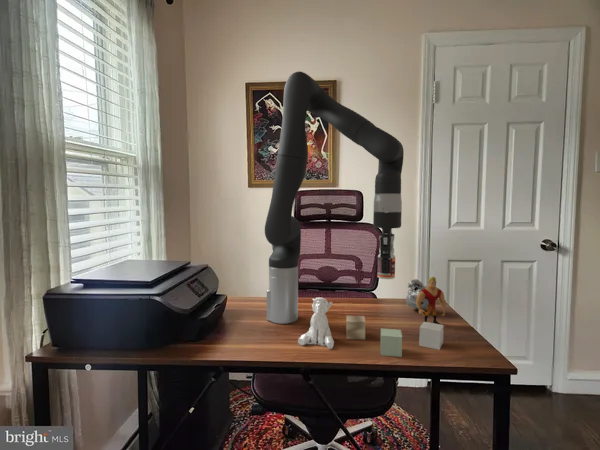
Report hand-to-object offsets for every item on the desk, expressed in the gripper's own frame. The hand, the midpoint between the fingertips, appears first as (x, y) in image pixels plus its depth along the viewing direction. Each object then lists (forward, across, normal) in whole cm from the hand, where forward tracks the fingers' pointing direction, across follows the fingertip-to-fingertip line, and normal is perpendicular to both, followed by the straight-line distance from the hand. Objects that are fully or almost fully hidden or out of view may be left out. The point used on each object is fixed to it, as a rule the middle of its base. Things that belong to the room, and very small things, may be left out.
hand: (386, 271), depth 99 cm
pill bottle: (+2, 0, 0) cm, 2 cm away
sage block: (+18, +11, +2) cm, 22 cm away
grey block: (+18, +3, +12) cm, 22 cm away
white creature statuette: (+19, +10, -17) cm, 27 cm away
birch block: (+18, +3, -8) cm, 20 cm away
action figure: (+18, -13, +13) cm, 26 cm away
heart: (+18, -25, +10) cm, 33 cm away
